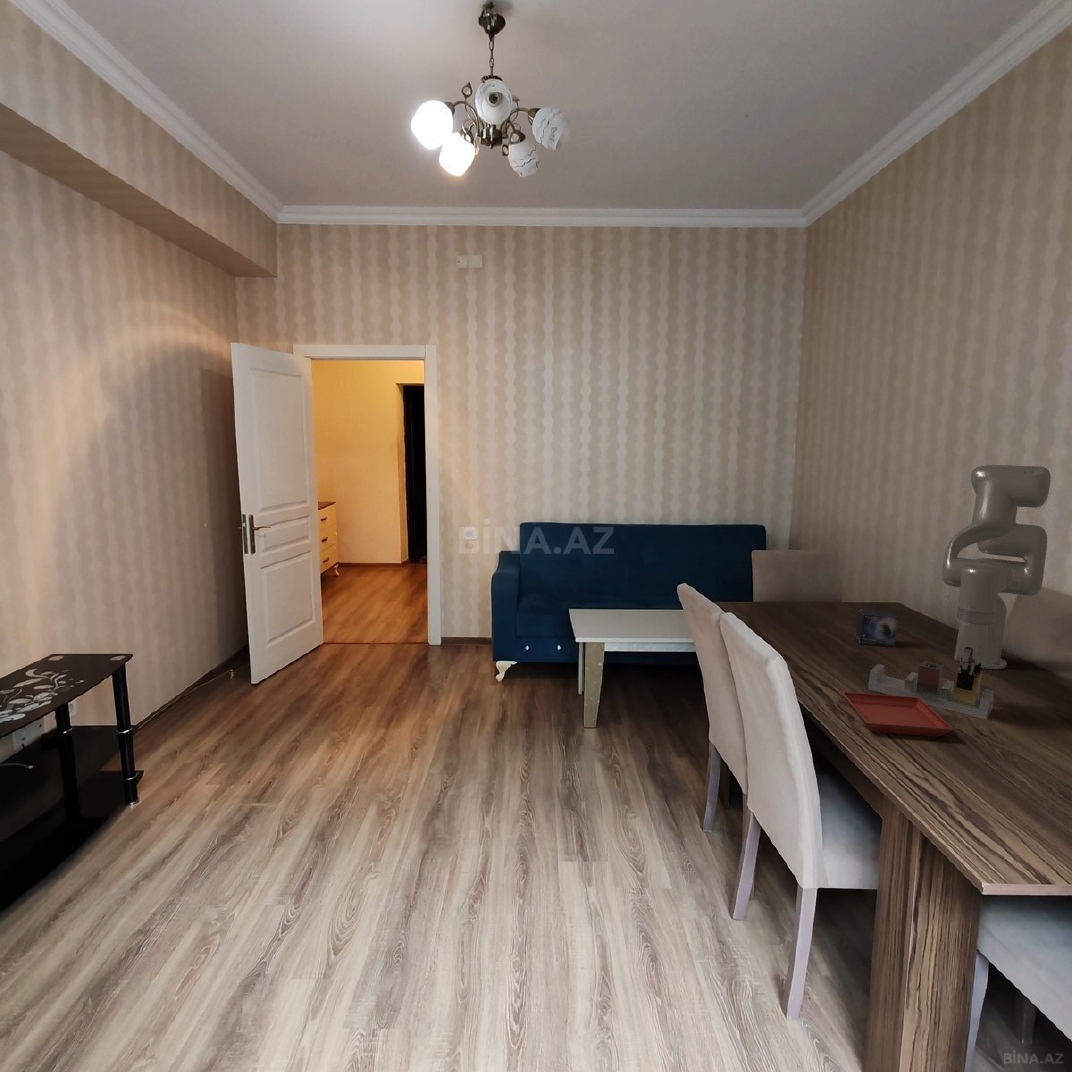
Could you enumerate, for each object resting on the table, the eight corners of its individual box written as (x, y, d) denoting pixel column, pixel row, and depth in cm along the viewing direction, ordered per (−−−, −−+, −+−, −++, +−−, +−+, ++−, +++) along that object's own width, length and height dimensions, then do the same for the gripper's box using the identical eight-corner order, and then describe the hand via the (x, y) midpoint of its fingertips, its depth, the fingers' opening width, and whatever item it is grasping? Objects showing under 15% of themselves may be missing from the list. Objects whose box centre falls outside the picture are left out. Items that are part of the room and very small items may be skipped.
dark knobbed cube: (920, 686, 161) (923, 660, 160) (940, 691, 158) (943, 664, 157) (916, 691, 158) (919, 664, 157) (936, 696, 155) (939, 669, 154)
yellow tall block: (957, 694, 156) (960, 667, 155) (978, 700, 153) (981, 672, 152) (953, 700, 153) (956, 672, 152) (975, 705, 150) (978, 677, 149)
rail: (876, 680, 170) (878, 663, 170) (992, 709, 153) (994, 690, 152) (867, 689, 165) (869, 671, 164) (986, 719, 147) (989, 699, 146)
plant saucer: (840, 703, 157) (841, 690, 156) (917, 708, 154) (919, 696, 153) (865, 736, 139) (866, 722, 139) (953, 743, 136) (954, 729, 136)
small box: (859, 645, 200) (862, 614, 199) (854, 639, 206) (857, 608, 205) (895, 648, 198) (899, 616, 196) (889, 641, 204) (892, 611, 202)
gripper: (964, 606, 158) (957, 669, 161) (950, 620, 146) (942, 689, 149) (1000, 611, 153) (992, 677, 156) (988, 627, 141) (980, 698, 144)
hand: (967, 682), depth 152 cm, fingers open, 9 cm apart
